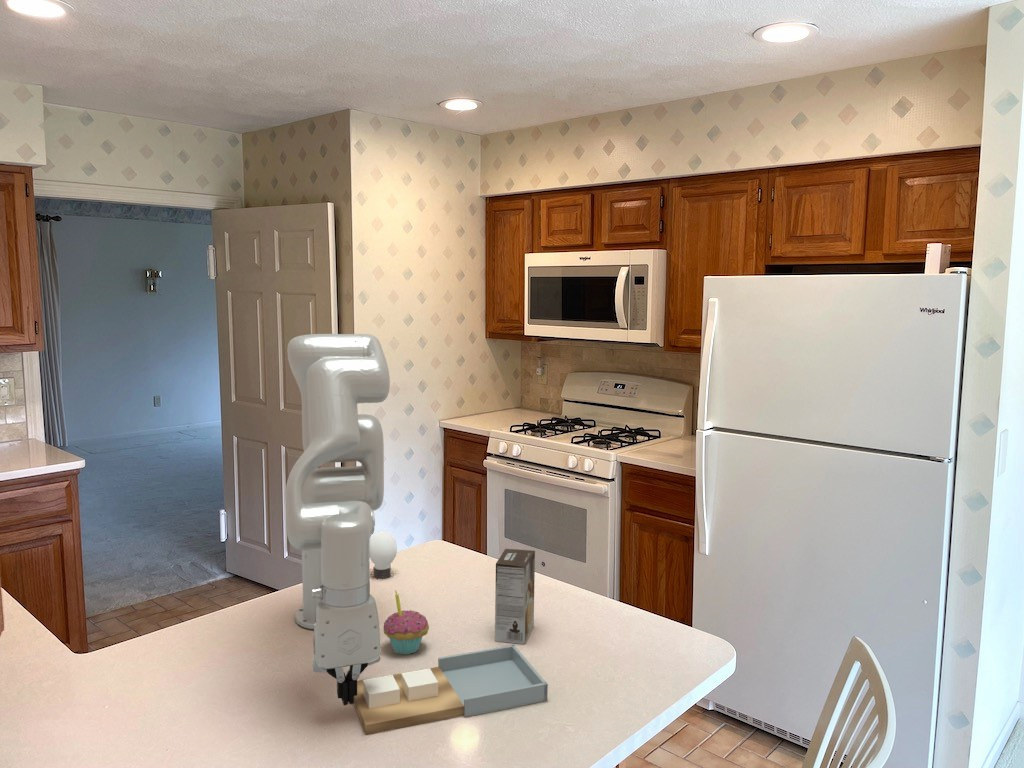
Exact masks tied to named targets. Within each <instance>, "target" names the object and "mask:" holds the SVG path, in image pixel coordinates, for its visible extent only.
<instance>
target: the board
mask: <svg viewBox="0 0 1024 768" xmlns="http://www.w3.org/2000/svg"><path fill="white" fill-rule="evenodd" d="M429 668H430V669H431V671H432V673H433V674H434V676H435V678H436V679H437V681H438V696H434V697H429V698H424V699H418V700H413V701H408V699H407V697H406V695H405V693H404V691H403V689H402V687H401V673H402V672H400V673H394V674H392V675H393V677H394V679H395V681H396V683H397V685H398V687H399V689H400V703H397V704H392V705H386V706H381V707H376V708H370V709H369V707H368V704H367V702H366V700H365V697H364V695H363V680H364V679H359V680H357V696H354V704H353V705H354V708H355V710H357V711H356V713H357V716H358V719H359V721H360V724H361V726H362V729H363V731H364V734H365V735H366V736H367V735H372V734H377V733H381V732H382V733H383V732H387V731H392V730H397V729H401V728H407V727H413V726H417V725H422V724H428V723H431V722H436V721H442V720H447V719H452V718H457V717H458V718H459V717H462V716H463V717H464V705H463V704H462V702H461V701H460V699H459V697H458V696H457V694H456V693H455V691H454V690H453V688H452V686H451V685H450V683H449V682H448V680H447V678H446V677H445V675H444V674H443V672H442V670H441V669H440V667H438V666H436V667H435V666H434V667H428V668H427V669H429ZM421 670H423V668H422V669H421ZM412 671H413V670H412ZM412 671H410V672H412ZM404 673H406V672H404ZM383 676H384V675H383ZM383 676H381V677H383ZM371 678H372V677H370V678H369V679H371ZM375 678H377V677H376V676H375Z"/></svg>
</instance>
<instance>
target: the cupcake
mask: <svg viewBox="0 0 1024 768" xmlns="http://www.w3.org/2000/svg"><path fill="white" fill-rule="evenodd" d="M394 592H395V593H394V595H395V602H396V608H397V612H393V613H392V614H391V615H389V616H388V617H387V619H385V621H384V622H383V634H384V635H386V636H387V638H389V641H390V643H391V646H392V649H393V652H394V653H396V654H399V655H411V653H412V654H414V653H416V652H417V651H418V650H419V648H420V644H421V641H422V638H423V637H424V636H426V635H428V633H429V628H430V627H429V622H428V620H427V618H426V616H425V615H423V614H421V613H420V612H419V611H415V610H411V609H410V610H402V607H401V602H400V594H399V593H397V590H394Z"/></svg>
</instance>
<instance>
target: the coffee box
mask: <svg viewBox="0 0 1024 768" xmlns="http://www.w3.org/2000/svg"><path fill="white" fill-rule="evenodd" d="M535 564H536V550H533V549H532V550H530V549H529V550H527V549H516V548H514V549H513V548H504V551H503V552H502V554H501V555H500V557H499V558H498V560H497V561H496V563H495V595H494V597H495V598H494V602H495V605H494V606H495V607H494V611H495V613H494V614H495V615H494V641H495V642H498V643H499V642H500V643H510V644H518V645H526V643H527V641H528V639H529V636H530V634H531V632H532V630H533V628H534V625H535V622H534V621H535V578H536V577H535V576H536V575H535V570H536V568H535V567H536V565H535Z"/></svg>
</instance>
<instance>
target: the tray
mask: <svg viewBox="0 0 1024 768" xmlns="http://www.w3.org/2000/svg"><path fill="white" fill-rule="evenodd" d="M437 659H438V660H437V662H438V663H437V667H440V669H441V670H442V672H443V674H444V675H445V677H446V678H447V680H448V682H449V683H450V685H451V686H452V688H453V690H454V691H455V693H456V694H457V696H458V697H459V699H460V701H461V702H462V704H463V705H464V715H463V717H464V718H467V717H473V716H478V715H484V714H488V713H493V712H494V713H495V712H497V711H503V710H509V709H513V708H517V707H523V706H528V705H533V704H539V703H543V702H547V701H548V690H549V689H548V688H549V687H548V686H549V684H548V682H547V681H546V680H545V679H544V678H543V676H542V675H541V674H540V673H539V672H538V671H537V669H535V668H534V666H533V665H532V664H531V663H530V661H528V659H527V658H526V657H525V656H524V655H523V653H522V652H521V651H520V650H519V649H518V648H517V646H516V645H514V644H512V645H511V644H510V645H506V646H499V647H494V648H493V647H492V648H488V649H482V650H475V651H470V652H465V653H459V654H453V655H447V656H441V657H437Z"/></svg>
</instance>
